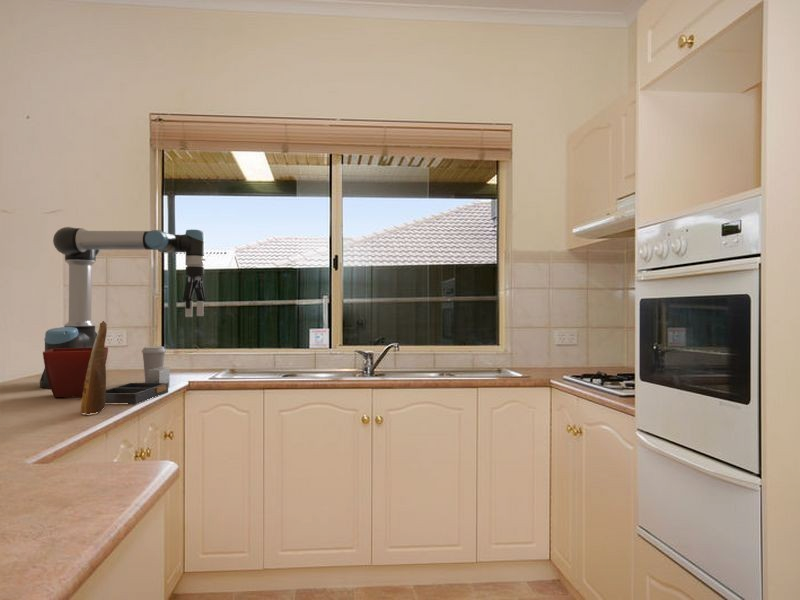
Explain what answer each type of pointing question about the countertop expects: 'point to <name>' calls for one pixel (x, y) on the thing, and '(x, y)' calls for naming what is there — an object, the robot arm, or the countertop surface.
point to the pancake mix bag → (95, 376)
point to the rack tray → (135, 392)
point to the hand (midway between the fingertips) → (194, 316)
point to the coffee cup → (152, 358)
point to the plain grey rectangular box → (159, 375)
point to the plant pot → (67, 370)
